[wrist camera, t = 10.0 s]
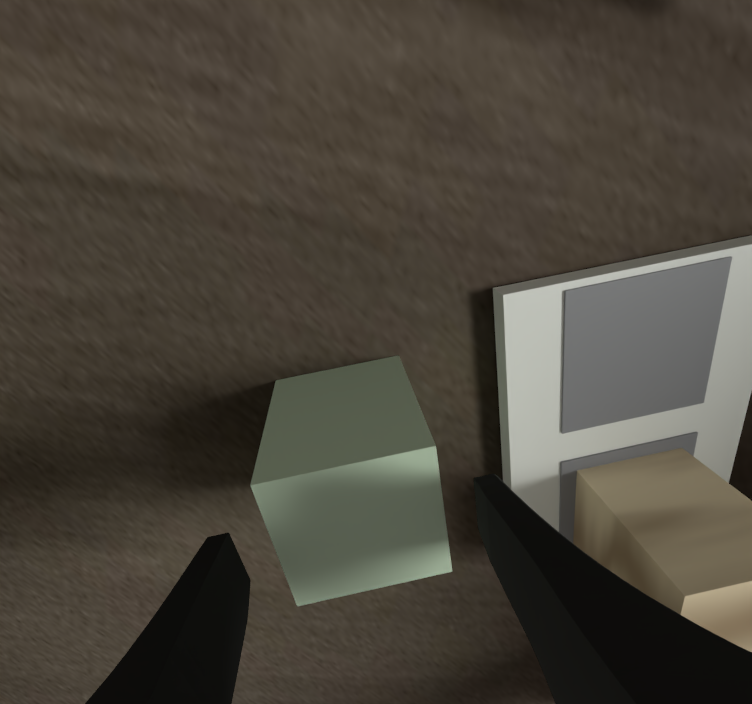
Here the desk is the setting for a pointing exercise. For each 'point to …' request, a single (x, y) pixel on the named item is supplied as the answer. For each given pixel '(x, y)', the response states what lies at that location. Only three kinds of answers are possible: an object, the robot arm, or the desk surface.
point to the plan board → (622, 368)
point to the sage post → (350, 482)
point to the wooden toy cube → (672, 537)
